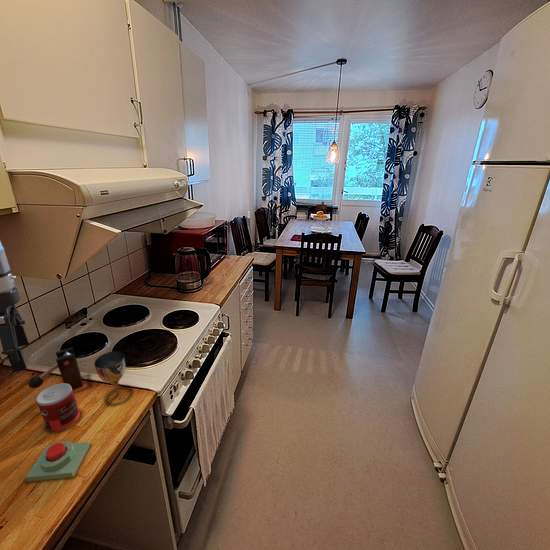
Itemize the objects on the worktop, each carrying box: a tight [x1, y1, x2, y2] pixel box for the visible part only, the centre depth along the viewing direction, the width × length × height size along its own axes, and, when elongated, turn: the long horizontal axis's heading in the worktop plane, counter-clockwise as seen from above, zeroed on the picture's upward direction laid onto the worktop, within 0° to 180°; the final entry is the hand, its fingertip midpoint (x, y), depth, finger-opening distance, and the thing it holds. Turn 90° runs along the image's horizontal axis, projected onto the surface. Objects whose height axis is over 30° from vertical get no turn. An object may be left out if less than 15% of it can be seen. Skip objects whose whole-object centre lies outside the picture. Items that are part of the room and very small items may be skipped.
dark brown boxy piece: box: [55, 347, 84, 391], centre depth 92 cm, size 8×7×14 cm
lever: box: [27, 352, 70, 389], centre depth 89 cm, size 13×4×4 cm
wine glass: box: [93, 350, 127, 396], centre depth 88 cm, size 8×8×15 cm
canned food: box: [36, 382, 81, 431], centre depth 80 cm, size 8×8×11 cm
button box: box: [25, 440, 90, 483], centre depth 70 cm, size 10×8×4 cm
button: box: [46, 442, 66, 462], centre depth 69 cm, size 4×4×2 cm
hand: (21, 356), depth 83 cm, fingers open, 13 cm apart
